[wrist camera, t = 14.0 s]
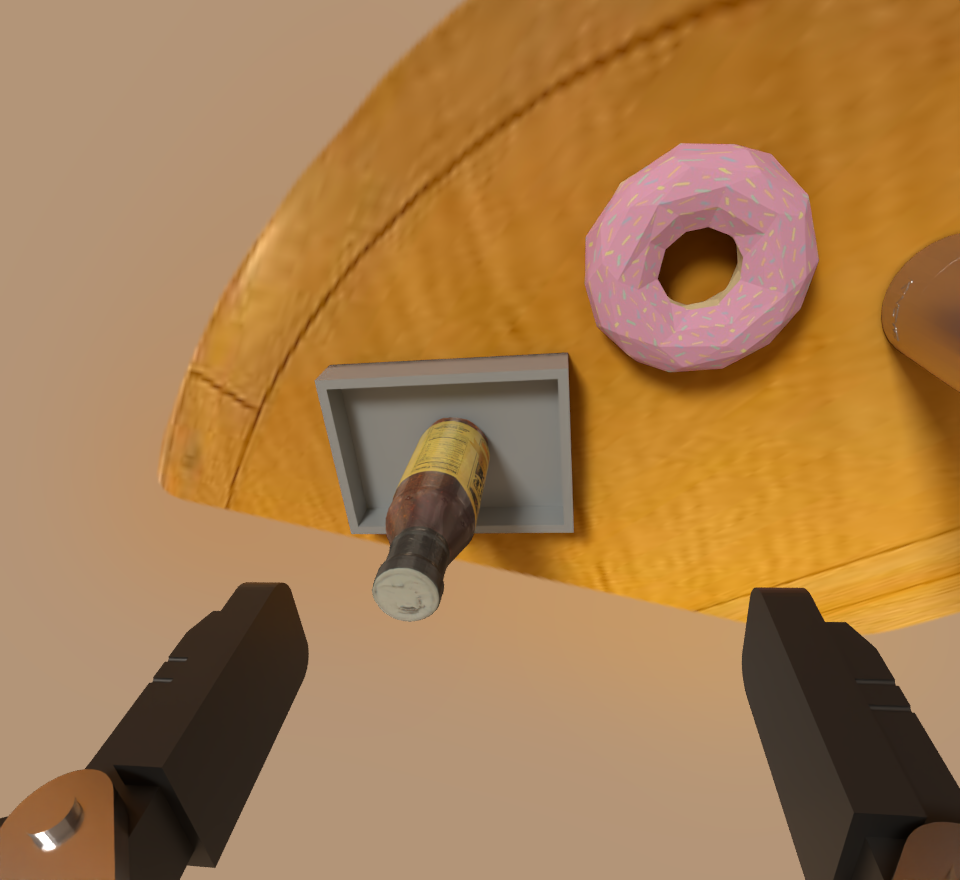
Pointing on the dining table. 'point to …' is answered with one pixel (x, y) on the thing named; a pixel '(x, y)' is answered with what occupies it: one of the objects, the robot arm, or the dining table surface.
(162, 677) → the robot arm
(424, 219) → the dining table surface
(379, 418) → the tray
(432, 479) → the sauce bottle
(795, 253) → the donut
